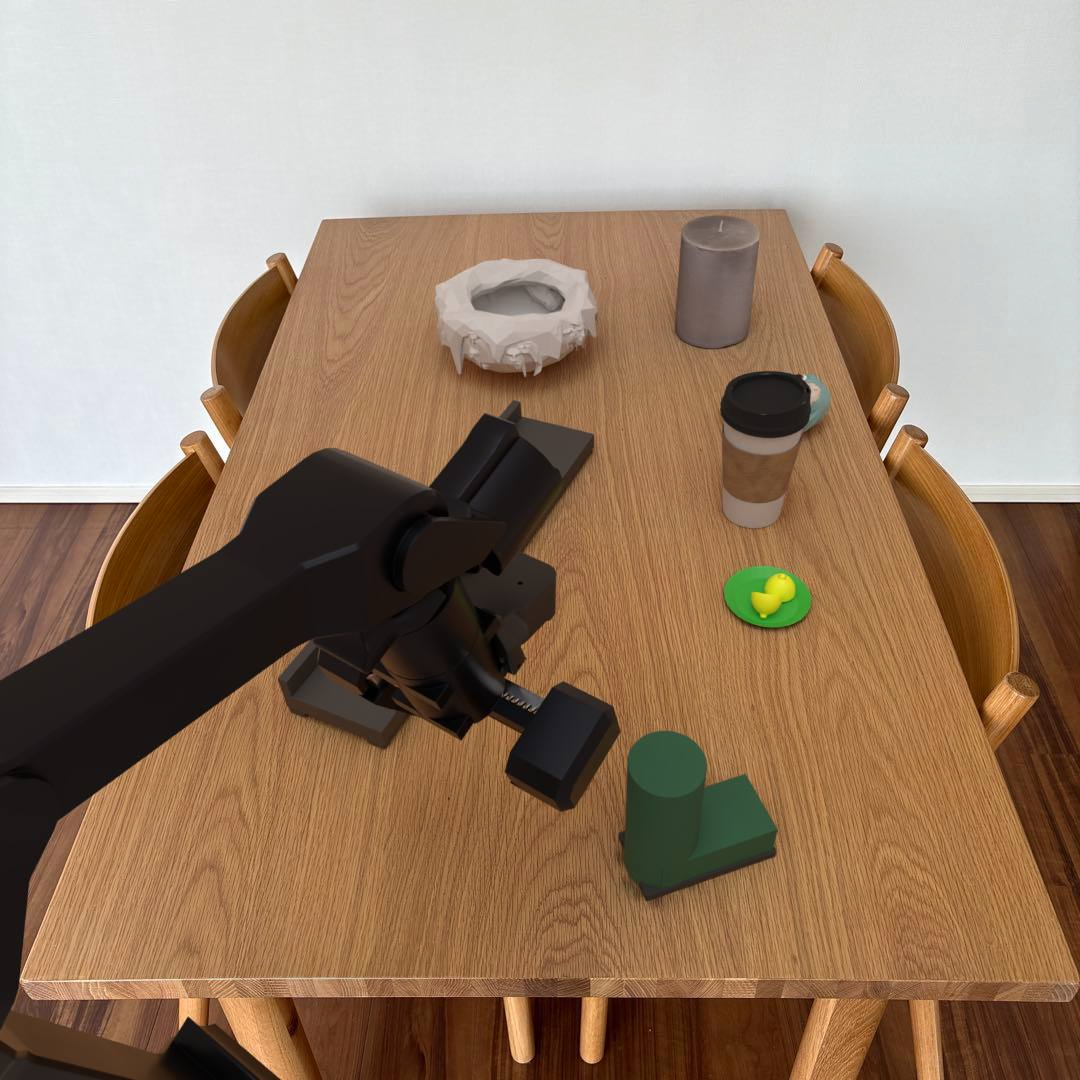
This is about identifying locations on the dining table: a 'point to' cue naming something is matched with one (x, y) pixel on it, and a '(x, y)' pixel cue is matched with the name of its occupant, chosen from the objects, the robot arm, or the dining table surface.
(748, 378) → the coffee cup
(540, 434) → the shoe shelf
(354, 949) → the dining table surface
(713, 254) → the pillar candle
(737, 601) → the green flat round tray
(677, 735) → the green cylinder on block
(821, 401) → the stuffed animal
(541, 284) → the bowl
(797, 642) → the dining table surface
